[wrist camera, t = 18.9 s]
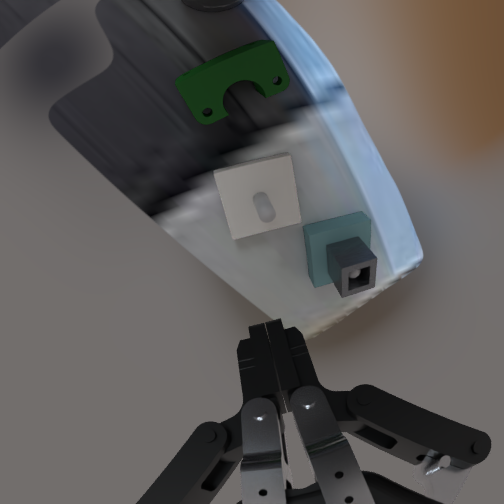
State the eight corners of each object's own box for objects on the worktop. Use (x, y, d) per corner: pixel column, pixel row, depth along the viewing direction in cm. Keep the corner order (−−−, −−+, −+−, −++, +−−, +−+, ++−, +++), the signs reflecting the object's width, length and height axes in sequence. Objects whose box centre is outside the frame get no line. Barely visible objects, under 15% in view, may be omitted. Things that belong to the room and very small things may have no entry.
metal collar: (325, 244, 40) (341, 268, 35) (358, 236, 40) (377, 258, 35) (327, 273, 43) (341, 297, 38) (358, 264, 43) (374, 287, 38)
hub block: (303, 226, 41) (321, 255, 34) (361, 211, 41) (388, 236, 34) (309, 276, 46) (324, 309, 40) (361, 261, 46) (382, 290, 40)
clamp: (209, 102, 33) (188, 133, 28) (189, 67, 29) (161, 91, 24) (293, 75, 29) (292, 101, 24) (276, 35, 25) (270, 48, 19)
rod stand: (213, 170, 35) (213, 186, 29) (287, 152, 35) (302, 165, 29) (232, 234, 40) (236, 260, 35) (298, 218, 40) (312, 240, 35)
